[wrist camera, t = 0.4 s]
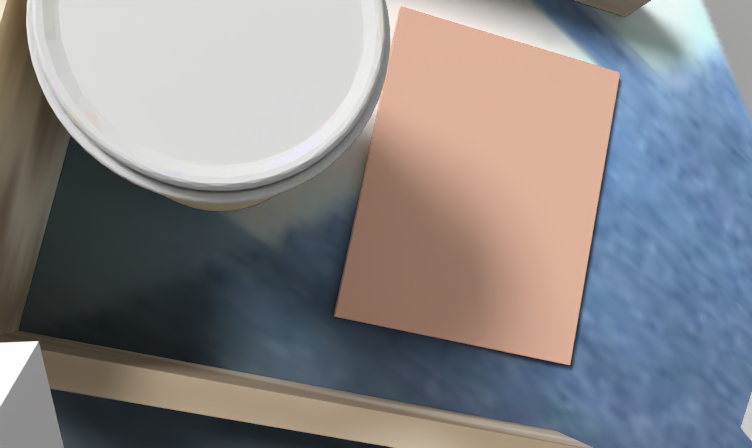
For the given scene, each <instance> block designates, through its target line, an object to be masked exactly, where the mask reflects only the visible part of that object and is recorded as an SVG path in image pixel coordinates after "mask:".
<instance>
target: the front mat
mask: <svg viewBox="0 0 752 448" xmlns="http://www.w3.org/2000/svg"><path fill="white" fill-rule="evenodd" d="M619 76H620V73H619V72H616V71H613V70H609V69H606V68H603V67H600V66H596V65H593V64H590V63H586V62H583V61H580V60H576V59H573V58H570V57H566V56H563V55H560V54H557V53H553V52H550V51H547V50H543V49H540V48H537V47H533V46H530V45H527V44H524V43H520V42H517V41H514V40H510V39H507V38H504V37H500V36H497V35H494V34H490V33H487V32H484V31H481V30H477V29H474V28H471V27H467V26H464V25H461V24H457V23H454V22H451V21H447V20H444V19H441V18H438V17H434V16H431V15H428V14H424V13H421V12H418V11H414V10H411V9H408V8H404V7H401V8H400V9H399V13H398V18H397V22H396V27H395V32H394V36H393V41H392V46H391V50H390V55H389V62H388V68H387V73H386V78H385V82H384V85H383V88H382V92H381V97H380V102H379V106H378V111H377V116H376V120H375V125H374V130H373V134H372V139H371V144H370V148H369V153H368V158H367V162H366V167H365V171H364V176H363V181H362V185H361V190H360V195H359V199H358V204H357V209H356V213H355V218H354V223H353V227H352V232H351V237H350V241H349V246H348V251H347V255H346V260H345V265H344V269H343V274H342V279H341V283H340V288H339V293H338V297H337V302H336V307H335V311H334V316H335V317H339V318H344V319H349V320H354V321H359V322H363V323H368V324H373V325H378V326H383V327H388V328H392V329H397V330H402V331H407V332H412V333H417V334H421V335H426V336H431V337H436V338H441V339H446V340H450V341H455V342H460V343H465V344H470V345H475V346H479V347H484V348H489V349H494V350H499V351H504V352H509V353H513V354H518V355H523V356H528V357H533V358H538V359H542V360H547V361H552V362H557V363H562V364H567V365H570V363H571V357H572V351H573V345H574V340H575V334H576V328H577V322H578V316H579V310H580V304H581V299H582V293H583V287H584V281H585V275H586V269H587V263H588V257H589V252H590V246H591V240H592V234H593V228H594V222H595V216H596V211H597V205H598V199H599V193H600V187H601V181H602V175H603V170H604V164H605V158H606V152H607V146H608V140H609V134H610V129H611V123H612V117H613V111H614V105H615V99H616V93H617V88H618V82H619Z"/></svg>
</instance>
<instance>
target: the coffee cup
mask: <svg viewBox="0 0 752 448" xmlns="http://www.w3.org/2000/svg"><path fill="white" fill-rule="evenodd" d="M26 27H27V37H28V45H29V50H30V55H31V60H32V64H33V67H34V70H35V72H36V75H37V78H38V81H39V84H40V86H41V88H42V90H43V93H44V95H45V97H46V99H47V101H48V103H49V105H50V106H51V108H52V109H53V111H54V113H55V114H56V116H57V118H58V119H59V121H60V122H61V123H62V124H63V126H64V127H65V128H66V130H67V131H68V132H69V134H70V135H71V136H72V137H73V138H74V139H75V140H76V141H77V142H78V143H79V144H80V145H81V146H82V147H83V148H84V149H85V150H86V151H87V152H88V153H89V154H90V155H92V156H93V157H94V158H95V159H96V160H98V161H99V162H100V163H101V164H103V165H104V166H105V167H107V168H108V169H110V170H111V171H113V172H114V173H116V174H117V175H119V176H121V177H123V178H125V179H126V180H128V181H130V182H132V183H134V184H136V185H138V186H140V187H143V188H145V189H148V190H150V191H153V192H155V193H158V194H161V195H164V196H166V197H167V198H169V199H171V200H174V201H176V202H178V203H180V204H183V205H186V206H189V207H192V208H196V209H200V210H207V211H233V210H239V209H244V208H247V207H251V206H254V205H257V204H259V203H261V202H264V201H266V200H268V199H270V198H271V197H273V196H275V195H277V194H279V193H282V192H285V191H287V190H290V189H293V188H295V187H297V186H299V185H301V184H303V183H305V182H307V181H308V180H310V179H312V178H313V177H315V176H316V175H318V174H319V173H321V172H322V171H324V170H325V169H326V168H327V167H329V166H330V165H331V164H332V163H334V162H335V161H336V160H337V159H338V158H339V157H340V156H341V155H342V154H343V153H344V152H345V151H346V150H347V149H348V148H349V147H350V146H351V145H352V143H353V142H354V141H355V139H356V138H357V137H358V136H359V134H360V133H361V132H362V130H363V128H364V127H365V125H366V123H367V122H368V120H369V119H370V117H371V115H372V113H373V111H374V108H375V106H376V104H377V102H378V100H379V97H380V94H381V91H382V88H383V85H384V82H385V78H386V73H387V68H388V62H389V52H390V26H389V17H388V10H387V6H386V1H385V0H27V14H26Z"/></svg>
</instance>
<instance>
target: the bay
mask: <svg viewBox="0 0 752 448" xmlns="http://www.w3.org/2000/svg"><path fill="white" fill-rule="evenodd" d="M574 1H577V2H580V3H583V4H586V5H590V6H593V7H596V8H599V9H602V10H605V11H608V12H611V13H614V14H618V15H621V16H624V17H626V16H628V15H629V14H631V13H632V12H634V11H635V10H637V9H638V8H640V7H642V6H643V5H645V4H646V3H648V2H649V1H651V0H574ZM26 14H27V0H0V343H5V342H30V341H39V344H40V349H41V353H42V357H43V361H44V366H45V370H46V374H47V379H48V383H49V387H50V389H56V390H62V391H67V392H73V393H79V394H85V395H91V396H97V397H102V398H108V399H114V400H120V401H126V402H131V403H137V404H143V405H149V406H155V407H161V408H166V409H172V410H178V411H184V412H190V413H195V414H201V415H207V416H213V417H219V418H225V419H230V420H236V421H242V422H248V423H254V424H260V425H265V426H271V427H277V428H283V429H289V430H294V431H300V432H306V433H312V434H318V435H324V436H329V437H335V438H341V439H347V440H353V441H359V442H364V443H370V444H376V445H382V446H388V447H393V448H593V447H590V446H588V445H586V444H584V443H582V442H579V441H577V440H575V439H573V438H570V437H568V436H566V435H564V434H562V433H559V432H557V431H555V430H550V429H545V428H540V427H534V426H529V425H523V424H518V423H513V422H507V421H502V420H497V419H491V418H486V417H480V416H475V415H470V414H464V413H459V412H453V411H448V410H443V409H437V408H432V407H426V406H421V405H416V404H410V403H405V402H400V401H394V400H389V399H383V398H378V397H373V396H367V395H362V394H356V393H351V392H346V391H340V390H335V389H330V388H324V387H319V386H313V385H308V384H303V383H297V382H292V381H286V380H281V379H276V378H270V377H265V376H260V375H254V374H249V373H243V372H238V371H233V370H227V369H222V368H216V367H211V366H206V365H200V364H195V363H189V362H184V361H179V360H173V359H168V358H163V357H157V356H152V355H146V354H141V353H136V352H130V351H125V350H119V349H114V348H109V347H103V346H98V345H93V344H87V343H82V342H76V341H71V340H66V339H60V338H55V337H49V336H44V335H39V334H33V333H28V332H23V331H18V329H19V325H20V321H21V317H22V314H23V310H24V306H25V303H26V299H27V295H28V292H29V288H30V284H31V281H32V277H33V273H34V269H35V266H36V262H37V258H38V255H39V251H40V247H41V244H42V240H43V236H44V233H45V229H46V225H47V221H48V218H49V214H50V210H51V207H52V203H53V199H54V196H55V192H56V188H57V184H58V181H59V177H60V173H61V170H62V166H63V162H64V159H65V155H66V151H67V148H68V144H69V140H70V136H71V135H70V134H69V132H68V131H67V130H66V128H65V127H64V126H63V124H62V123H61V122H60V121H59V119H58V118H57V116H56V114H55V113H54V111H53V109H52V108H51V106H50V105H49V103H48V101H47V99H46V97H45V95H44V93H43V90H42V88H41V86H40V84H39V81H38V78H37V75H36V72H35V70H34V67H33V64H32V60H31V55H30V50H29V45H28V37H27V27H26Z"/></svg>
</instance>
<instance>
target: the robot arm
mask: <svg viewBox="0 0 752 448" xmlns="http://www.w3.org/2000/svg"><path fill="white" fill-rule="evenodd" d="M741 429H742V430H743V431H744V432H745V434H746V435H747V436H748V437H749V438H750V440H751V441H752V394H751V397H750V400H749V403H748V406H747V409H746V413H745V416H744V419H743V422H742V425H741ZM0 448H64V447H63V443H62V438H61V434H60V430H59V426H58V421H57V417H56V413H55V408H54V404H53V400H52V396H51V391H50V387H49V383H48V379H47V374H46V370H45V366H44V361H43V357H42V353H41V349H40V344H39V341H30V342H5V343H0Z"/></svg>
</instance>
